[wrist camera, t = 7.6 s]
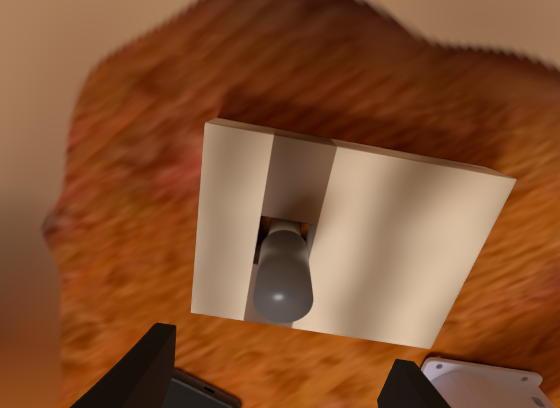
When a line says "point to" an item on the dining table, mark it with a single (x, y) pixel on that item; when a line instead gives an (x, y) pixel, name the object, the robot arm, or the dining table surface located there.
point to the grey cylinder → (283, 274)
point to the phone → (195, 394)
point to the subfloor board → (342, 229)
